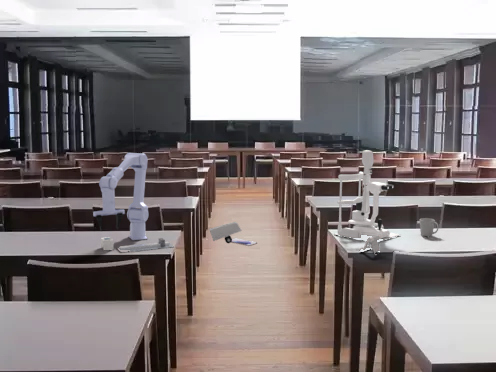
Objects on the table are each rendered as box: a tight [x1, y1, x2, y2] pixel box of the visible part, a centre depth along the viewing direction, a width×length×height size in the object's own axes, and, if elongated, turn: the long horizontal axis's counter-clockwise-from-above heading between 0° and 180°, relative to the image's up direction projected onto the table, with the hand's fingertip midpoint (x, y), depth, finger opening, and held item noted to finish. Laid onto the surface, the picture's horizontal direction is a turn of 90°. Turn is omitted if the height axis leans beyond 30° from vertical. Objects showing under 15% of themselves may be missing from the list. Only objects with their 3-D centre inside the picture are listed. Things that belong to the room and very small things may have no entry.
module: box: [100, 236, 114, 251], centre depth 281 cm, size 7×4×5 cm, turn 25°
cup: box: [419, 217, 439, 237], centre depth 308 cm, size 8×10×8 cm
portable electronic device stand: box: [358, 235, 382, 256], centre depth 275 cm, size 9×8×8 cm
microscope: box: [333, 149, 401, 240], centre depth 306 cm, size 24×27×45 cm
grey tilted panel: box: [208, 221, 243, 244], centre depth 294 cm, size 4×10×15 cm
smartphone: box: [230, 237, 258, 247], centre depth 295 cm, size 7×1×15 cm
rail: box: [118, 237, 175, 252], centre depth 284 cm, size 10×26×3 cm, turn 115°
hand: (109, 229), depth 280 cm, fingers open, 7 cm apart
